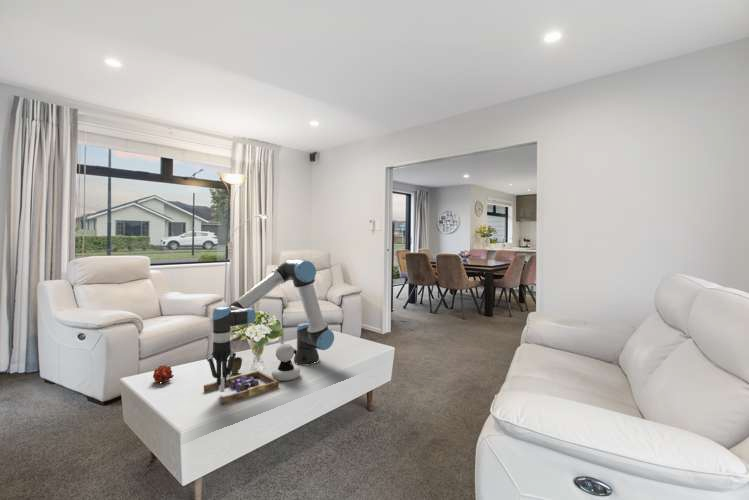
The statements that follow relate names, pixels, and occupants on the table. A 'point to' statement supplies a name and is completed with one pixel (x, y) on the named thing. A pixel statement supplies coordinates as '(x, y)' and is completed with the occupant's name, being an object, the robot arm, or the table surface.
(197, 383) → the table surface
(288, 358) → the decorative figurine
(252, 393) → the wooden tray
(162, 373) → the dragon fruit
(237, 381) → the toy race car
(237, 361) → the cup
